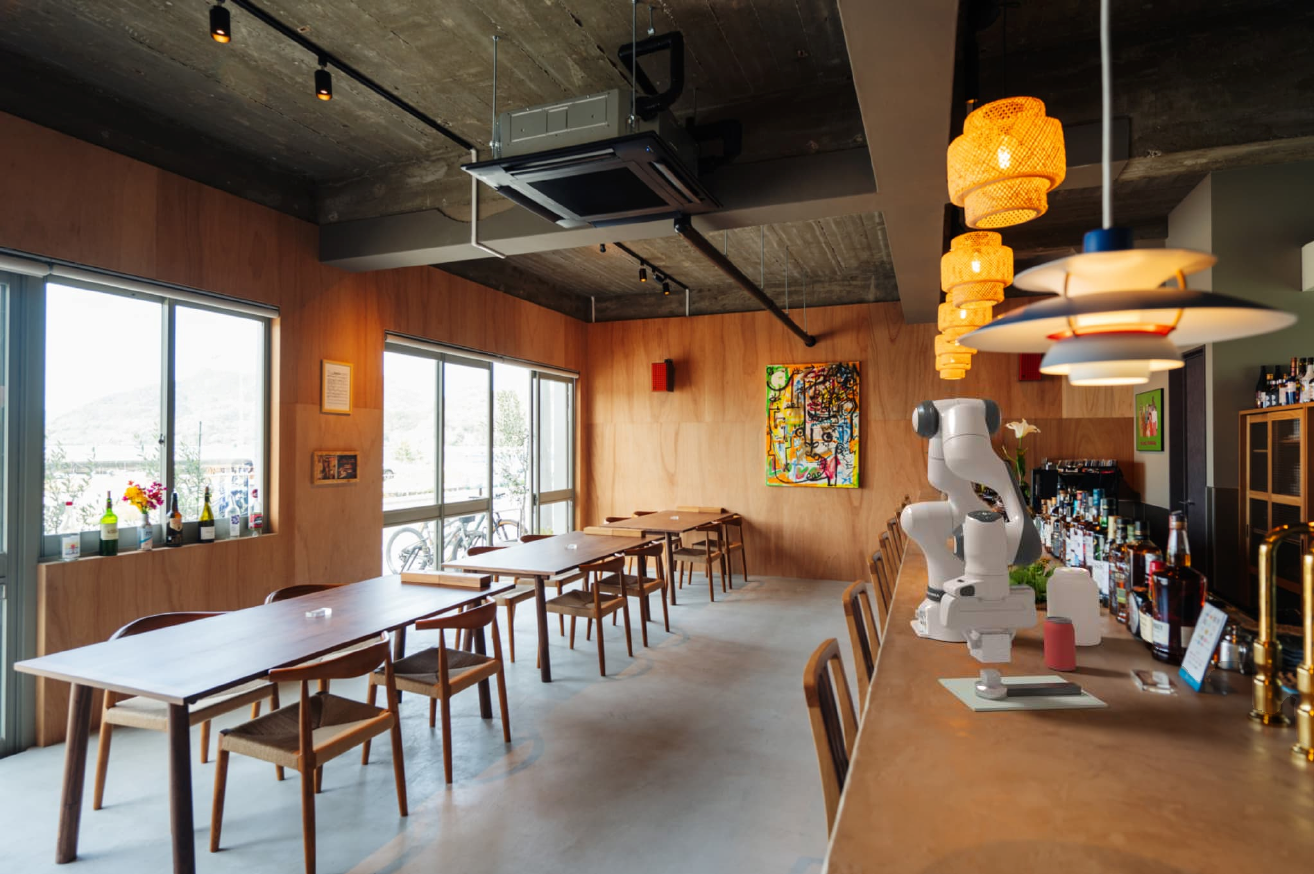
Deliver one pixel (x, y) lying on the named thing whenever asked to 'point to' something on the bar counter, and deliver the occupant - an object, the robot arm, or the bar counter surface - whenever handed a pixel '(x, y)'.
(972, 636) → the grey box
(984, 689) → the lever
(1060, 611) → the white plastic canister
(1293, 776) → the bar counter surface
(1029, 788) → the bar counter surface
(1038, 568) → the potted flower
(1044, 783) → the bar counter surface
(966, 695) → the mat
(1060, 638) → the beer can
